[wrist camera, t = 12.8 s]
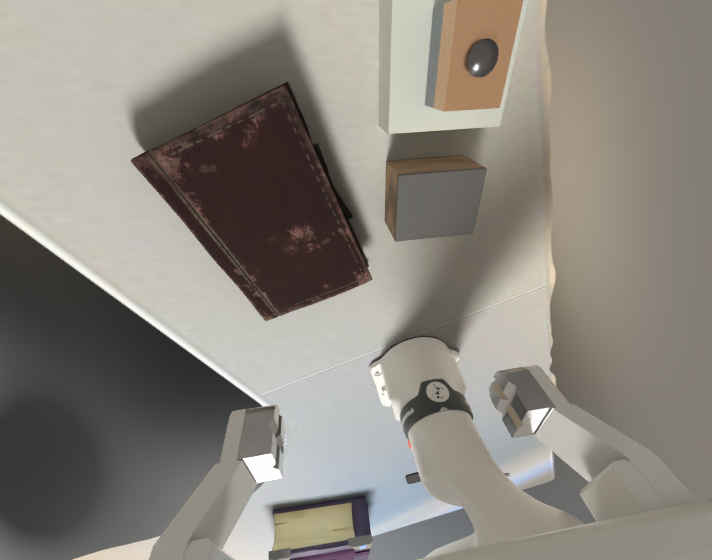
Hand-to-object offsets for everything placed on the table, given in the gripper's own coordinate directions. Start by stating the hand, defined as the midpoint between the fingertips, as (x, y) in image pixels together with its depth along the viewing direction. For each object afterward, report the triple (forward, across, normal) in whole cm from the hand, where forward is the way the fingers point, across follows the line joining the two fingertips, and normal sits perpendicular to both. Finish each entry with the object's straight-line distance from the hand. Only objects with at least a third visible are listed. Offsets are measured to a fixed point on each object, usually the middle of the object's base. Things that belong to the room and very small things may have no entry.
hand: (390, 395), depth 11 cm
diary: (+32, +8, +6) cm, 33 cm away
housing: (+26, -12, -10) cm, 30 cm away
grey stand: (+31, -12, -10) cm, 35 cm away
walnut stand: (+31, -12, +4) cm, 34 cm away
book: (+32, +15, +132) cm, 137 cm away
